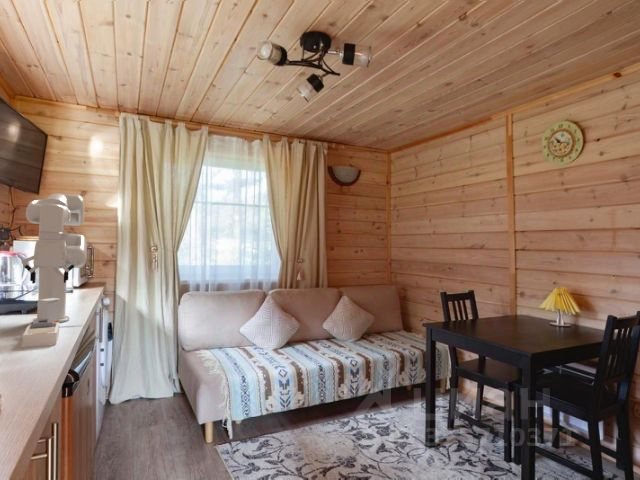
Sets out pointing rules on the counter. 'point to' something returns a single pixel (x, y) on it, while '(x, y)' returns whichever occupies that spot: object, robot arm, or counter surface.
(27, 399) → the counter surface
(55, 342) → the cream rectangular tray
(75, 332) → the counter surface
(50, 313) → the skincare box
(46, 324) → the grey square block
